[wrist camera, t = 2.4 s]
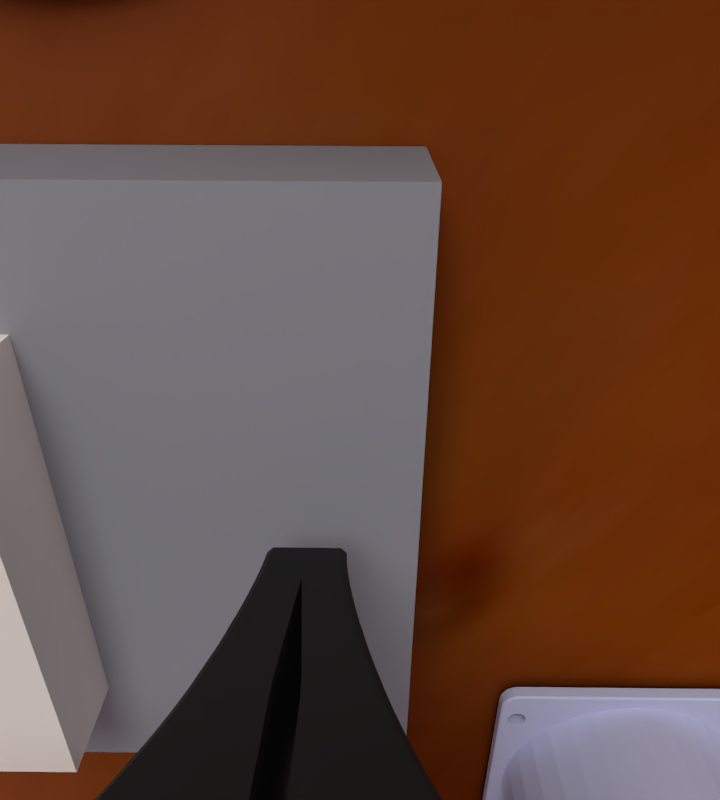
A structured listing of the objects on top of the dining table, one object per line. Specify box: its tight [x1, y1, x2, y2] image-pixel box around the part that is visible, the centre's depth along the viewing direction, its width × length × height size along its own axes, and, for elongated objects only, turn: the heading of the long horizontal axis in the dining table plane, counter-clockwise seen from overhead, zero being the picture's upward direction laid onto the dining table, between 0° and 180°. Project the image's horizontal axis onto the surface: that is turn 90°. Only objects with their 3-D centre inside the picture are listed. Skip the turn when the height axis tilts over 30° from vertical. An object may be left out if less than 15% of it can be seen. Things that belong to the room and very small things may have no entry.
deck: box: [0, 144, 442, 752], centre depth 15 cm, size 14×15×3 cm
